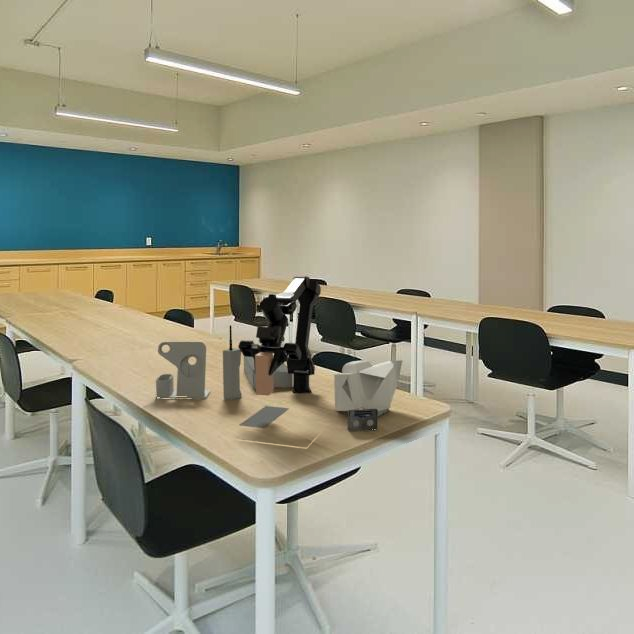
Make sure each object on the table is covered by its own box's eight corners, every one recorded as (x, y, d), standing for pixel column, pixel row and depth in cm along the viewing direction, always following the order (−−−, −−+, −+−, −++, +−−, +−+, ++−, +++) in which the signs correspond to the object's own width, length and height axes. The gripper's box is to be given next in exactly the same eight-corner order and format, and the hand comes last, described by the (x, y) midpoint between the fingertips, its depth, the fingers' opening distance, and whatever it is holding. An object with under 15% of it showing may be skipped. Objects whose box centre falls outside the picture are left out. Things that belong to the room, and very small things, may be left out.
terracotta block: (261, 390, 172) (260, 352, 170) (273, 391, 171) (272, 353, 169) (256, 394, 169) (255, 355, 167) (268, 395, 167) (267, 356, 165)
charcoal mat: (265, 407, 182) (265, 405, 182) (289, 409, 179) (289, 408, 179) (238, 426, 163) (238, 425, 163) (264, 429, 160) (264, 427, 160)
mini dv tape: (376, 428, 162) (376, 408, 161) (377, 430, 160) (377, 409, 160) (347, 429, 161) (348, 409, 160) (348, 431, 159) (349, 410, 158)
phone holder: (153, 399, 190) (152, 346, 187) (161, 391, 200) (159, 341, 197) (206, 399, 190) (205, 346, 188) (210, 391, 200) (209, 341, 198)
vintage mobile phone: (241, 397, 192) (241, 324, 189) (231, 401, 188) (230, 326, 185) (233, 396, 194) (232, 323, 191) (223, 399, 190) (222, 325, 187)
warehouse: (292, 388, 207) (292, 367, 206) (253, 390, 204) (252, 369, 203) (278, 369, 236) (278, 351, 235) (243, 371, 232) (243, 353, 231)
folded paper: (329, 358, 174) (368, 373, 161) (384, 350, 189) (424, 363, 176) (326, 411, 177) (363, 430, 164) (380, 398, 192) (419, 415, 179)
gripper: (239, 314, 172) (224, 358, 164) (297, 317, 167) (284, 362, 158) (251, 334, 181) (237, 377, 173) (306, 337, 176) (294, 382, 167)
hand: (262, 374), depth 168 cm, fingers closed on terracotta block, 4 cm apart
